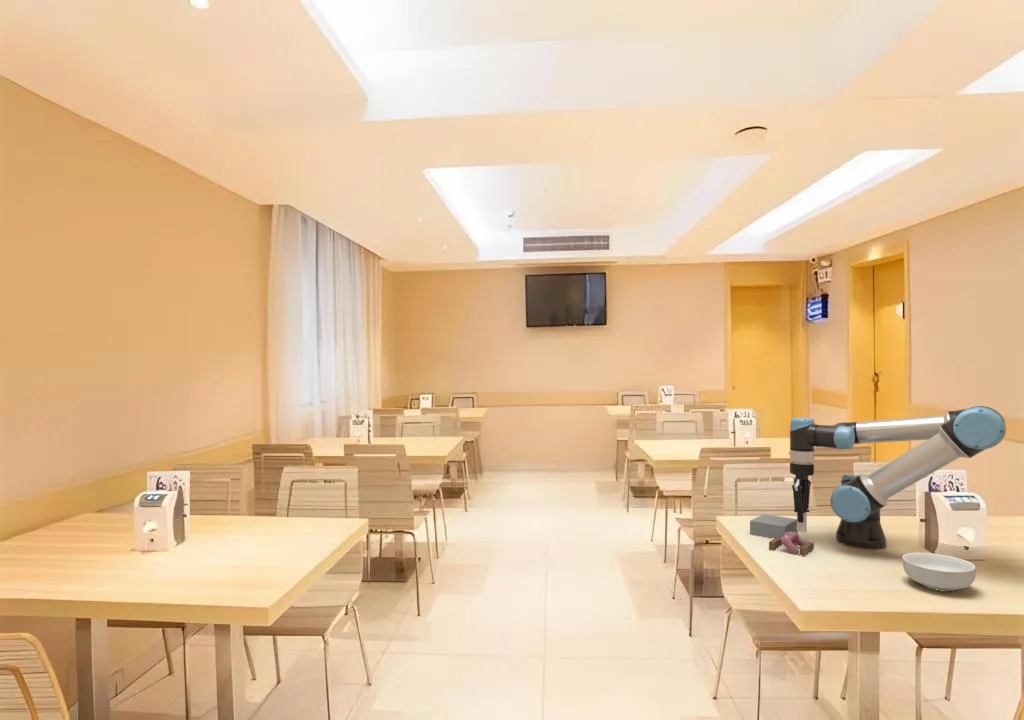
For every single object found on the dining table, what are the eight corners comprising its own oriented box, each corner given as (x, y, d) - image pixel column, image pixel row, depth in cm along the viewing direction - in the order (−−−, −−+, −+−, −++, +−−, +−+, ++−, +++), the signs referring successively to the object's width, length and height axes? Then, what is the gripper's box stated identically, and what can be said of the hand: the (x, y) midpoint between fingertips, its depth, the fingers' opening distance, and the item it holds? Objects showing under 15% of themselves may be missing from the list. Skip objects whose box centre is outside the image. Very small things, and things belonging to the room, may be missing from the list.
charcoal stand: (797, 533, 222) (797, 519, 222) (784, 541, 211) (784, 526, 211) (763, 527, 230) (763, 513, 230) (749, 534, 219) (750, 520, 219)
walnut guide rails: (813, 549, 201) (813, 542, 201) (804, 556, 194) (804, 548, 194) (779, 543, 209) (779, 535, 209) (769, 549, 201) (769, 541, 201)
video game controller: (797, 551, 205) (787, 531, 207) (810, 547, 202) (800, 527, 204) (786, 557, 198) (776, 536, 200) (799, 554, 195) (789, 532, 197)
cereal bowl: (906, 572, 180) (906, 548, 180) (977, 585, 169) (977, 559, 169) (898, 588, 167) (898, 562, 167) (974, 603, 156) (974, 575, 156)
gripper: (796, 459, 217) (796, 525, 217) (784, 463, 207) (783, 533, 207) (819, 461, 212) (818, 529, 212) (807, 466, 202) (807, 537, 202)
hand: (801, 531), depth 209 cm, fingers closed
